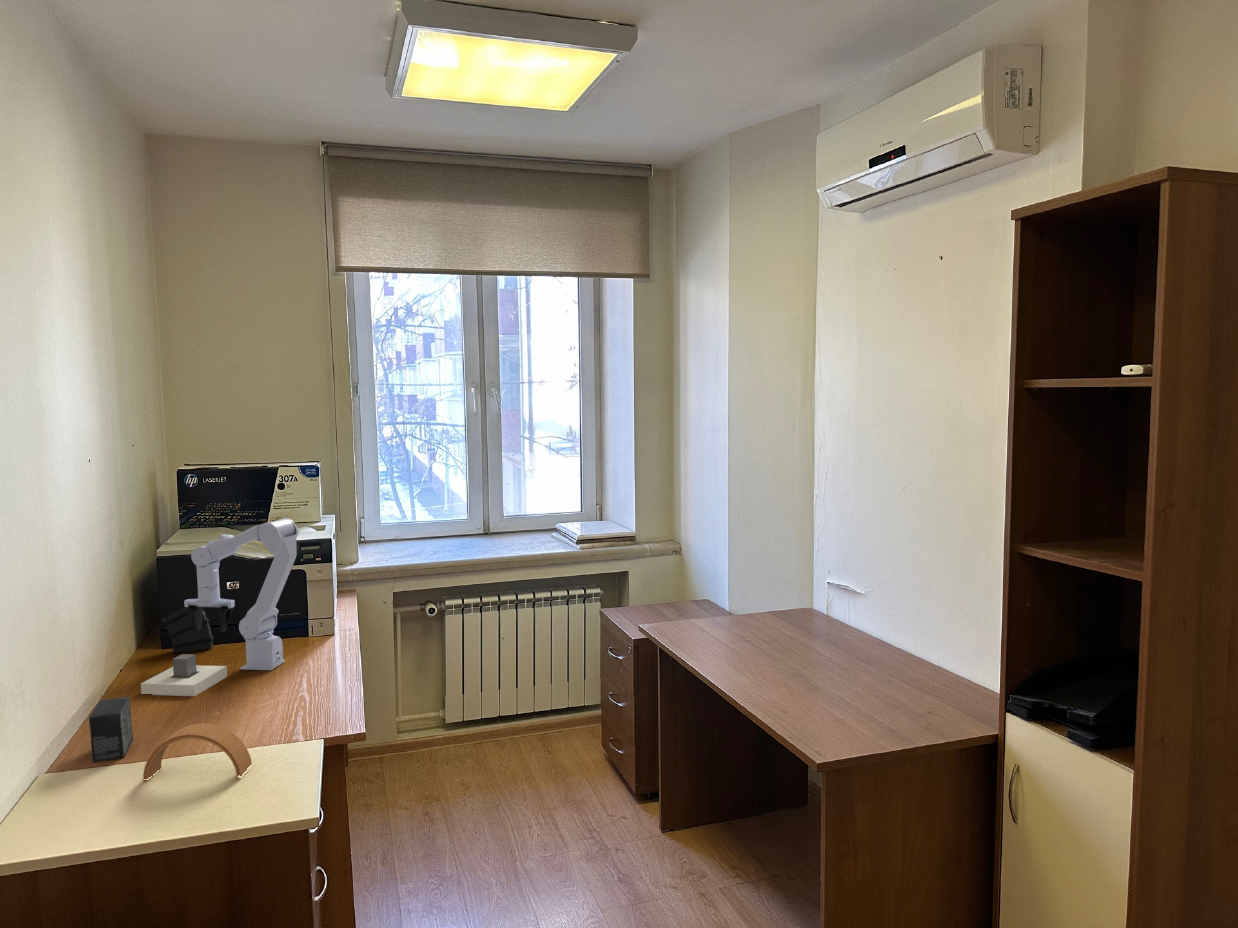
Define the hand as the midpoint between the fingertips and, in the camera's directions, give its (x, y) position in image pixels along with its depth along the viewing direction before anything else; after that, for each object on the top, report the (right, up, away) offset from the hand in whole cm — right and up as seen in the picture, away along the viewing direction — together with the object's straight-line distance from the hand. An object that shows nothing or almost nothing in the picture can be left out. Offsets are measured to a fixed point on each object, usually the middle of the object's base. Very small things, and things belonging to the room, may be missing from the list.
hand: (211, 630), depth 247 cm
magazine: (-13, -9, +12) cm, 20 cm away
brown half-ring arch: (+32, -16, -71) cm, 80 cm away
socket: (+2, -11, -18) cm, 22 cm away
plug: (+2, -11, -18) cm, 21 cm away
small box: (+7, -15, -59) cm, 62 cm away
